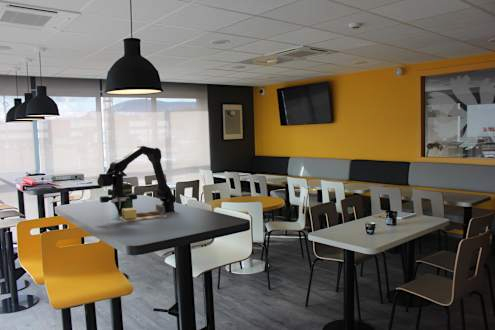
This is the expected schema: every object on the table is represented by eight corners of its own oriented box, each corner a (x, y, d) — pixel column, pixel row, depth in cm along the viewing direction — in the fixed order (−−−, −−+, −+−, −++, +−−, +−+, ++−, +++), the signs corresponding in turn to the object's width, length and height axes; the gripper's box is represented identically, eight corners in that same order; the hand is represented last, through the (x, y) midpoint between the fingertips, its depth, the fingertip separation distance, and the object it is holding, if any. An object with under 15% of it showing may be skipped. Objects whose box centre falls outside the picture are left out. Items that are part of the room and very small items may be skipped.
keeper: (133, 215, 223) (132, 207, 222) (136, 217, 216) (136, 209, 215) (122, 216, 220) (121, 208, 219) (125, 219, 213) (125, 210, 212)
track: (160, 214, 232) (159, 203, 232) (166, 217, 222) (166, 206, 221) (119, 218, 221) (119, 208, 221) (124, 222, 211) (123, 211, 210)
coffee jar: (135, 214, 234) (133, 183, 233) (122, 216, 229) (120, 184, 228) (128, 212, 241) (127, 182, 240) (116, 214, 236) (114, 183, 235)
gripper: (132, 182, 226) (133, 209, 227) (97, 185, 217) (98, 213, 218) (136, 184, 216) (138, 212, 217) (100, 187, 207) (102, 216, 208)
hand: (119, 213), depth 215 cm, fingers closed
